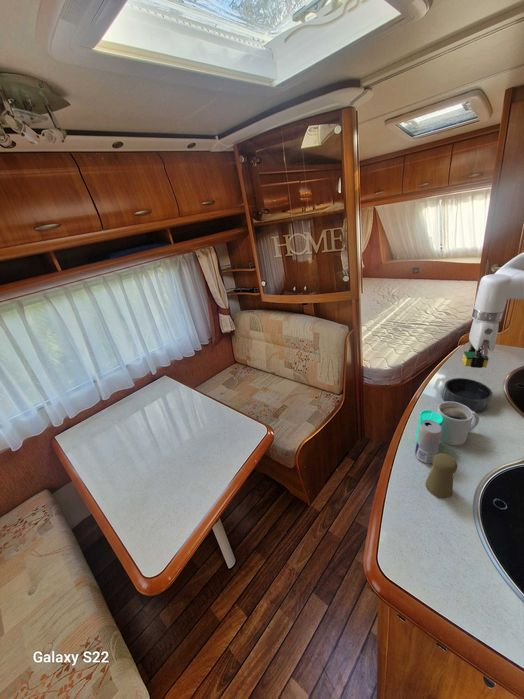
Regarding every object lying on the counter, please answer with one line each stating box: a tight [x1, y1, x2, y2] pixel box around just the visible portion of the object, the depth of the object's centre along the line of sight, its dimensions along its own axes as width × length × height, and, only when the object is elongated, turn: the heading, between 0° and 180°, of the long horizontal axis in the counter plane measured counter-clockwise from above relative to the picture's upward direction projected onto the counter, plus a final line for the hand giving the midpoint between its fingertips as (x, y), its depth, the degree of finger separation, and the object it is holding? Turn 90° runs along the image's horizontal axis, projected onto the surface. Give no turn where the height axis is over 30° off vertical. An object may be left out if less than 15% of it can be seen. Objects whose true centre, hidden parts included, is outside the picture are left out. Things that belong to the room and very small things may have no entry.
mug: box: [436, 401, 480, 446], centre depth 84 cm, size 11×10×10 cm
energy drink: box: [414, 420, 442, 464], centre depth 78 cm, size 5×5×12 cm
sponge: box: [461, 350, 490, 368], centre depth 94 cm, size 6×4×4 cm
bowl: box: [442, 377, 493, 414], centre depth 97 cm, size 14×14×6 cm
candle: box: [415, 409, 443, 444], centre depth 82 cm, size 6×6×12 cm
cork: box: [425, 452, 459, 499], centre depth 69 cm, size 6×6×11 cm
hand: (474, 362), depth 95 cm, fingers closed on sponge, 4 cm apart
